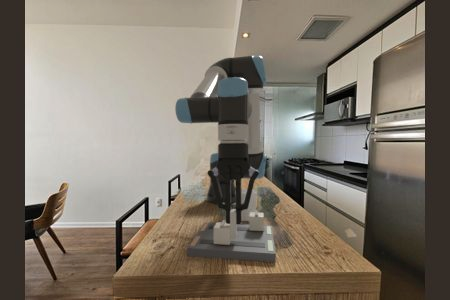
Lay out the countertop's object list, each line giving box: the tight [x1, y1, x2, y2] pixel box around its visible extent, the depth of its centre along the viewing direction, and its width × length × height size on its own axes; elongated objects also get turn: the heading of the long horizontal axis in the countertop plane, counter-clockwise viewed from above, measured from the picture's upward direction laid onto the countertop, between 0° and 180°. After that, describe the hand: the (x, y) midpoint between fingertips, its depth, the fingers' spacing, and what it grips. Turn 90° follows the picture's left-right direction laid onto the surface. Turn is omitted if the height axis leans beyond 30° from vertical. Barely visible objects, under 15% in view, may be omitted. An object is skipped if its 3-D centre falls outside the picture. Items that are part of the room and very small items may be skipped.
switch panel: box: [186, 222, 277, 263], centre depth 63 cm, size 18×21×2 cm
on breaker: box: [248, 209, 265, 231], centre depth 67 cm, size 4×4×5 cm
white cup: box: [235, 188, 258, 222], centre depth 83 cm, size 8×8×10 cm
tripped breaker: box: [214, 219, 232, 245], centre depth 58 cm, size 4×4×5 cm
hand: (233, 236), depth 58 cm, fingers closed
